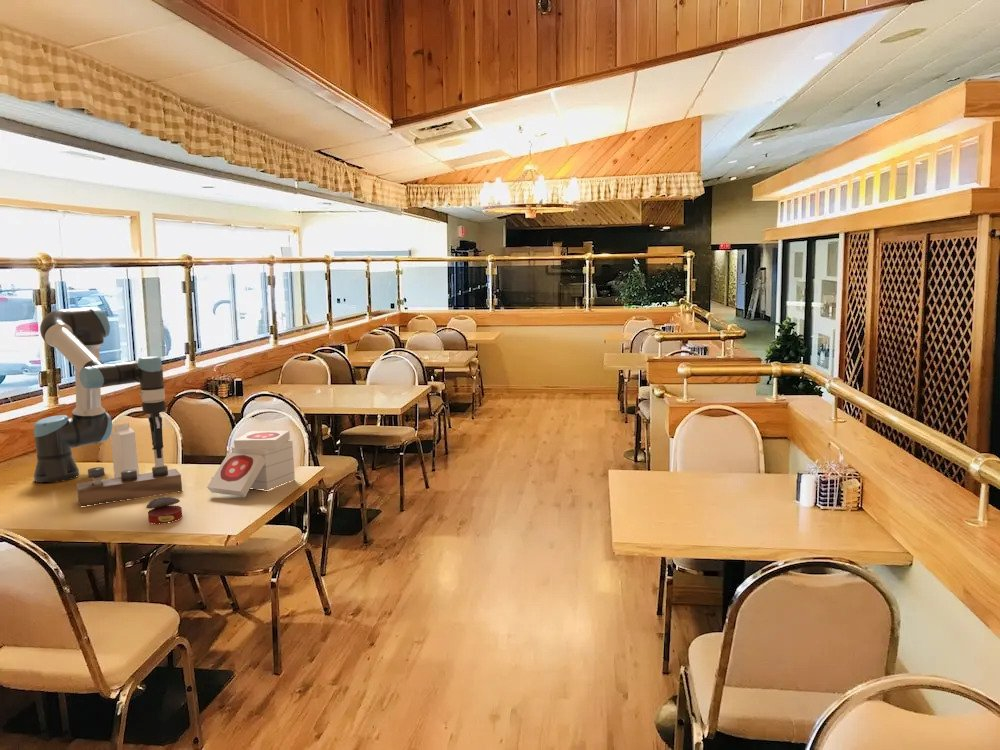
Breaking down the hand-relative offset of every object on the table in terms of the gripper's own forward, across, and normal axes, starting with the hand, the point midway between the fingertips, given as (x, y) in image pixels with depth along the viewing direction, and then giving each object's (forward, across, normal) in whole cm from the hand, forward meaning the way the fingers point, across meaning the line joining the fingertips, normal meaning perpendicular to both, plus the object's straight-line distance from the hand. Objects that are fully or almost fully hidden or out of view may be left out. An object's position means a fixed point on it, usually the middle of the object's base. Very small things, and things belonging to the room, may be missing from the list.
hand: (159, 466), depth 279 cm
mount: (+9, 0, -10) cm, 13 cm away
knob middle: (+7, 0, -10) cm, 12 cm away
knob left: (+4, 0, -20) cm, 20 cm away
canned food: (+9, +35, -4) cm, 36 cm away
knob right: (+7, 0, 0) cm, 7 cm away
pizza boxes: (+9, +17, +28) cm, 34 cm away
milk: (+9, -20, -9) cm, 24 cm away
